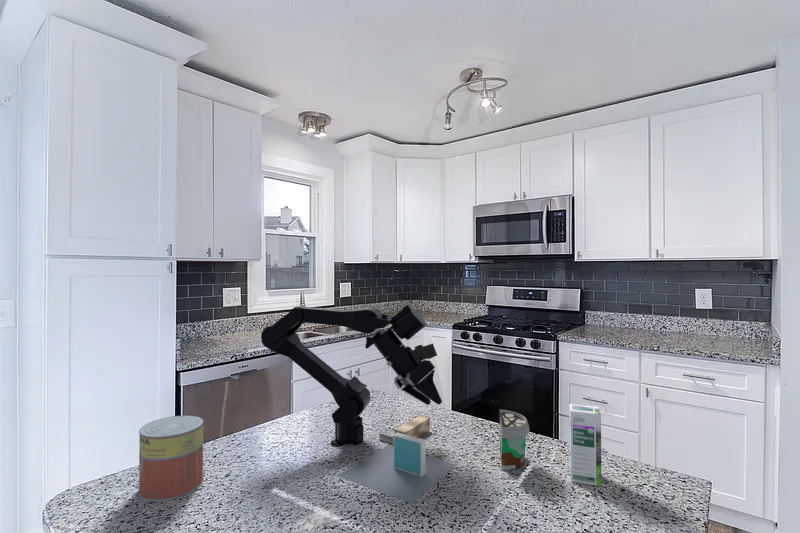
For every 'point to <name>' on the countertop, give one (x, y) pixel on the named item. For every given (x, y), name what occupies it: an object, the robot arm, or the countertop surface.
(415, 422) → the block
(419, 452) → the tile
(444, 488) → the countertop surface
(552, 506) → the countertop surface
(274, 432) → the countertop surface
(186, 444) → the canned food
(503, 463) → the food container
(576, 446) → the syrup box
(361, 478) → the slate board
